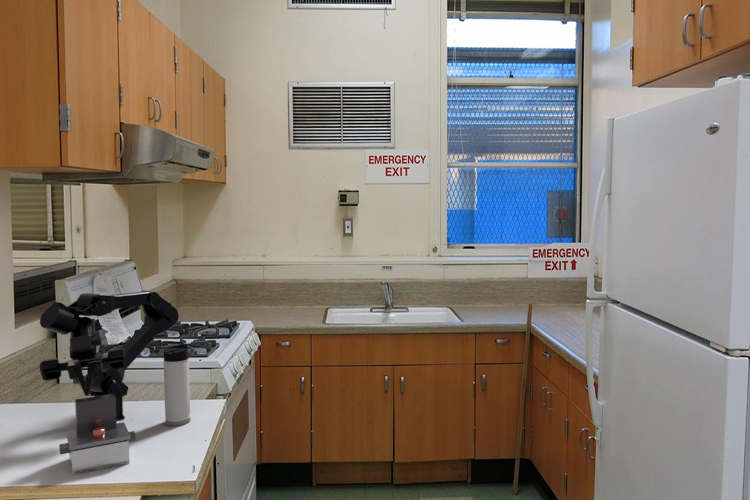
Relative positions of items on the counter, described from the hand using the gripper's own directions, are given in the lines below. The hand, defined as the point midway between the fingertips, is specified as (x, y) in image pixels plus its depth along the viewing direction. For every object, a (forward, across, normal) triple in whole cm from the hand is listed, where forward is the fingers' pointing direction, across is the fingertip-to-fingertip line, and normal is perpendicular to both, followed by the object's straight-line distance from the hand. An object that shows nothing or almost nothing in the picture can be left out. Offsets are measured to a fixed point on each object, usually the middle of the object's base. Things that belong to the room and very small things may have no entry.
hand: (86, 395), depth 138 cm
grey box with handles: (+17, +2, -2) cm, 18 cm away
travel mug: (+6, +20, +13) cm, 25 cm away
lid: (+13, +2, -6) cm, 15 cm away
